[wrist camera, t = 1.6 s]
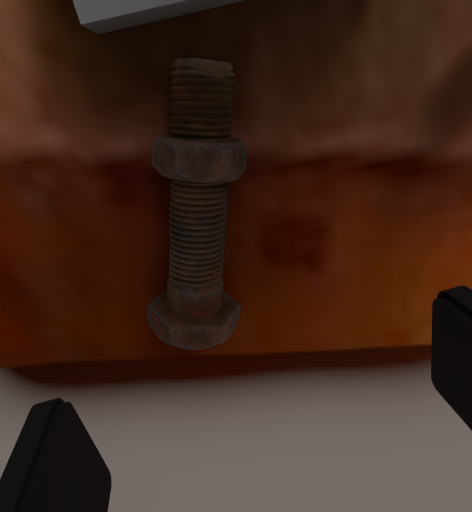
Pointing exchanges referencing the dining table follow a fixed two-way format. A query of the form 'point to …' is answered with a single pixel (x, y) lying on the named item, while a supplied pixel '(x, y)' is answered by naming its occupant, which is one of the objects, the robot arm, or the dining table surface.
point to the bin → (136, 12)
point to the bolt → (197, 205)
